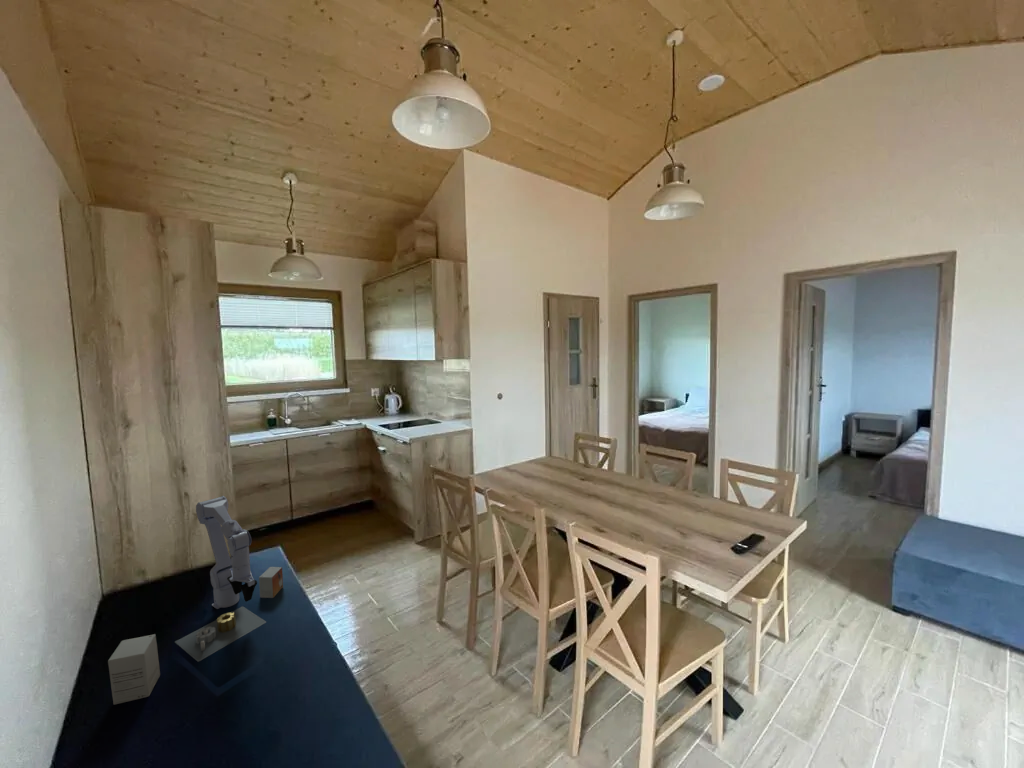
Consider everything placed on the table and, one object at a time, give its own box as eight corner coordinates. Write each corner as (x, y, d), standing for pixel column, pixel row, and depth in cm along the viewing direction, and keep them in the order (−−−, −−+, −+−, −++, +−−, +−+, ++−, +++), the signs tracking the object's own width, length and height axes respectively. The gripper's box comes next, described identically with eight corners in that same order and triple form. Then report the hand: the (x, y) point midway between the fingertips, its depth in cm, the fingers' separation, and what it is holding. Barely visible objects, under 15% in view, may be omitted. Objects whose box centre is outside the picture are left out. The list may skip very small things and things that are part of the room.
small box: (273, 601, 177) (271, 577, 176) (259, 600, 177) (258, 577, 176) (283, 589, 185) (282, 566, 184) (271, 589, 185) (269, 566, 184)
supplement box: (126, 682, 137) (121, 639, 134) (161, 674, 140) (156, 632, 138) (111, 705, 128) (106, 660, 126) (149, 697, 131) (144, 653, 129)
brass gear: (214, 628, 159) (214, 618, 158) (231, 620, 163) (230, 610, 163) (222, 634, 156) (221, 624, 155) (238, 625, 161) (238, 615, 160)
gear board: (174, 645, 152) (173, 634, 151) (242, 609, 172) (242, 599, 171) (198, 666, 144) (197, 653, 143) (267, 625, 163) (266, 614, 162)
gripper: (219, 562, 163) (222, 595, 165) (239, 574, 155) (241, 609, 157) (239, 554, 169) (241, 586, 171) (259, 565, 161) (261, 599, 163)
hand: (243, 596), depth 164 cm, fingers open, 7 cm apart
